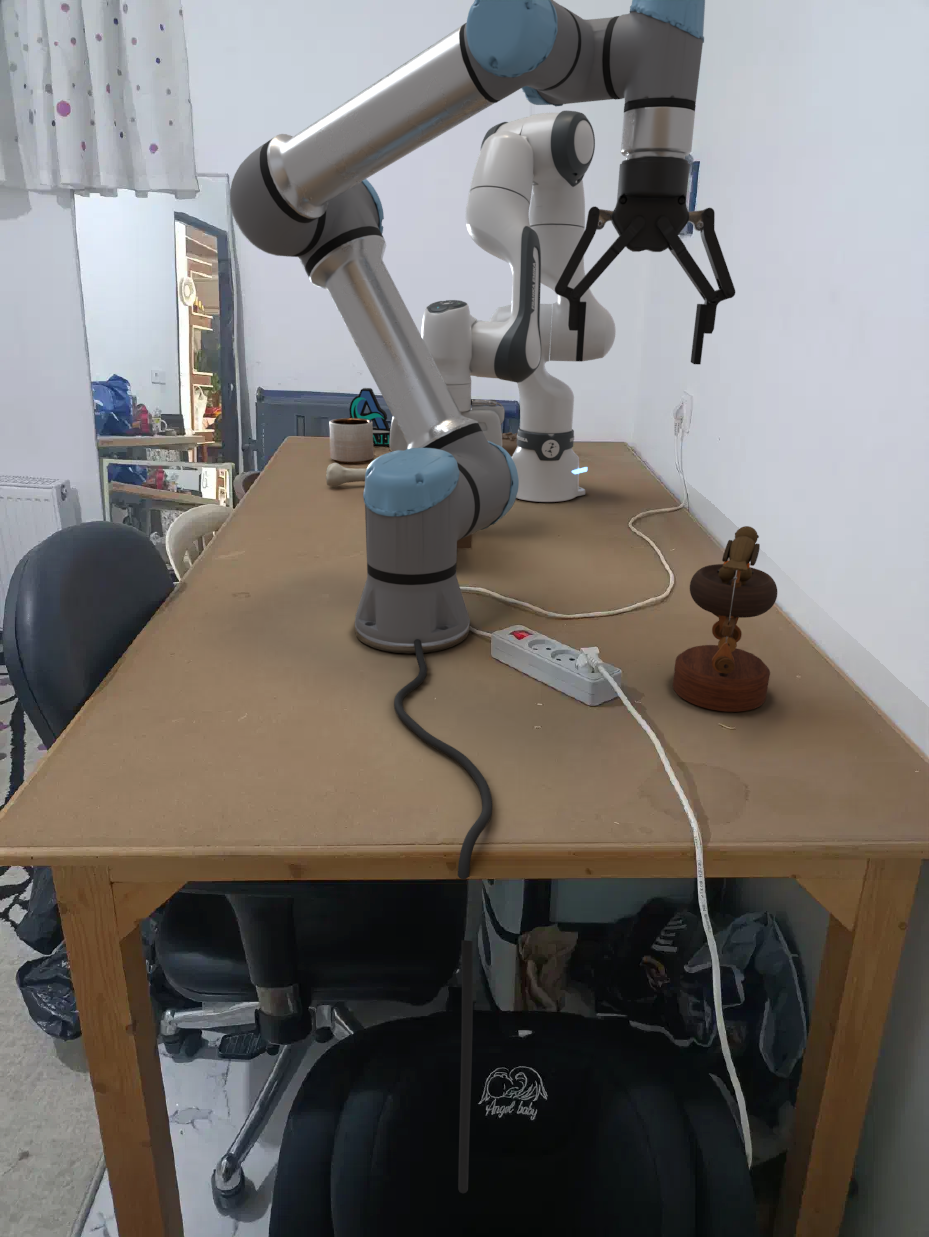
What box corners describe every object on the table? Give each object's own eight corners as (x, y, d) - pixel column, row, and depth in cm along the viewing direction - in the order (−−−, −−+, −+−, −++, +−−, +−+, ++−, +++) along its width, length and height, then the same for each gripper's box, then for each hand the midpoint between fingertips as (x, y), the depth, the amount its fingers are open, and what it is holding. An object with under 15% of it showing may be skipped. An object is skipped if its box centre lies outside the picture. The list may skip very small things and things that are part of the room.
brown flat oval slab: (485, 467, 208) (485, 449, 207) (478, 445, 234) (478, 430, 233) (570, 467, 209) (571, 450, 208) (554, 445, 235) (554, 430, 234)
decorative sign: (401, 444, 234) (401, 388, 228) (400, 446, 231) (399, 390, 226) (333, 442, 235) (331, 387, 229) (332, 444, 232) (329, 388, 227)
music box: (784, 722, 91) (798, 544, 84) (680, 722, 93) (685, 548, 85) (755, 661, 105) (765, 505, 98) (665, 663, 107) (668, 509, 99)
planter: (327, 456, 217) (325, 418, 214) (369, 454, 220) (368, 417, 217) (334, 465, 208) (332, 425, 204) (377, 463, 211) (376, 424, 207)
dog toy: (415, 481, 193) (415, 459, 191) (418, 487, 188) (418, 465, 186) (325, 483, 190) (324, 461, 188) (326, 489, 184) (325, 466, 182)
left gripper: (764, 163, 94) (738, 361, 102) (540, 162, 96) (532, 356, 104) (781, 154, 87) (751, 367, 95) (539, 153, 89) (530, 362, 98)
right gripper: (502, 397, 152) (500, 473, 157) (388, 396, 151) (390, 473, 156) (506, 402, 146) (504, 481, 151) (388, 401, 145) (389, 481, 150)
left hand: (636, 362), depth 100 cm, fingers open, 13 cm apart
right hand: (445, 477), depth 154 cm, fingers closed on box, 6 cm apart
